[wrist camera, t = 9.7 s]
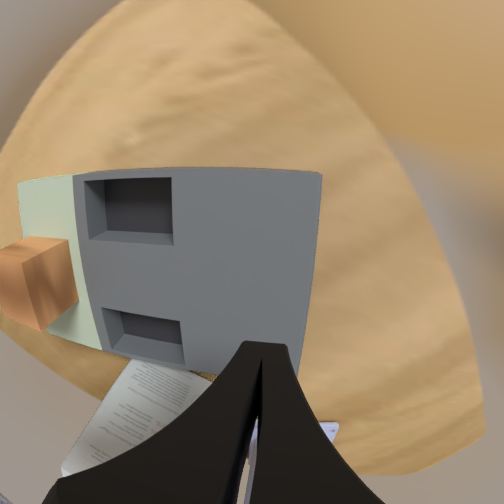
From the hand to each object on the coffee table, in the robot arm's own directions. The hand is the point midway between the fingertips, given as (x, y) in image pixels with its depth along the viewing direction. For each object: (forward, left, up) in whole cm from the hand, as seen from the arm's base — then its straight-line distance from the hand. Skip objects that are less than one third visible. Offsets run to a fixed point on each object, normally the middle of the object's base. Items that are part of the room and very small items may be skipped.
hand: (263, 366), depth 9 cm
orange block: (-1, +16, -7) cm, 17 cm away
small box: (-13, +8, -10) cm, 18 cm away
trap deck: (-1, +9, -9) cm, 13 cm away
